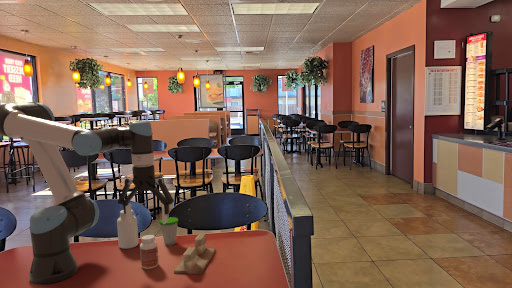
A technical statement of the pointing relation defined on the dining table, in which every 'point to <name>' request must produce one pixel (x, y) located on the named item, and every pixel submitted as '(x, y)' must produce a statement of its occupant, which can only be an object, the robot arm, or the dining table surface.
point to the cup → (169, 230)
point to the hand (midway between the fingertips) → (147, 222)
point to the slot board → (195, 257)
